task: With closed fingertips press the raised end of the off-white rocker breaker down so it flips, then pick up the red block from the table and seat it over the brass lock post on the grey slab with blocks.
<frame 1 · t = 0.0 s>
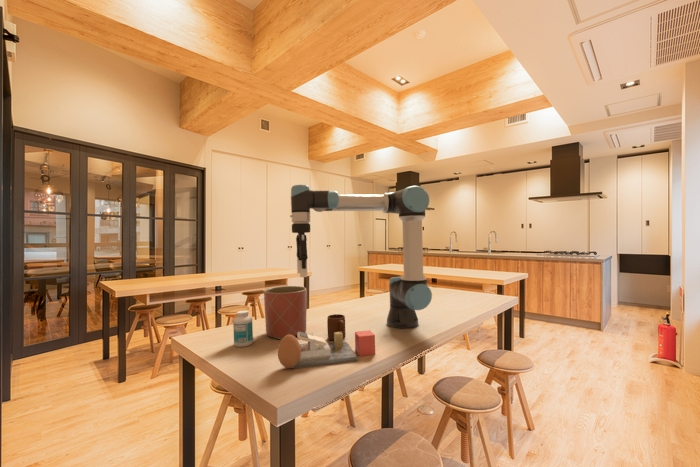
hand: (302, 275, 130), 28 cm above the table, fingers open, 13 cm apart
red block: (365, 352, 119), on the table
egg: (289, 368, 106), on the table, touching grey slab with blocks
grey slab with blocks: (322, 356, 116), on the table
rocker: (311, 338, 113), point 7 cm above the table, hinge at -20.0°
pill bottle: (243, 344, 130), on the table
mug: (338, 340, 133), on the table
planter: (286, 333, 144), on the table
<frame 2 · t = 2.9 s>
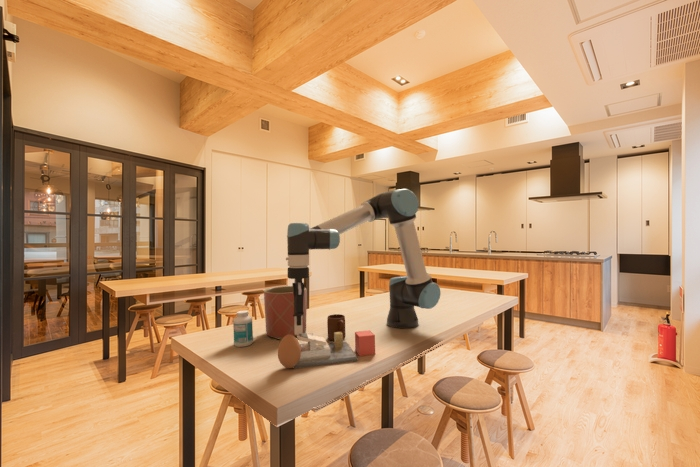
hand: (298, 333, 112), 10 cm above the table, fingers closed
rocker: (311, 338, 113), point 7 cm above the table, hinge at -17.3°, touching gripper
everything else where it was.
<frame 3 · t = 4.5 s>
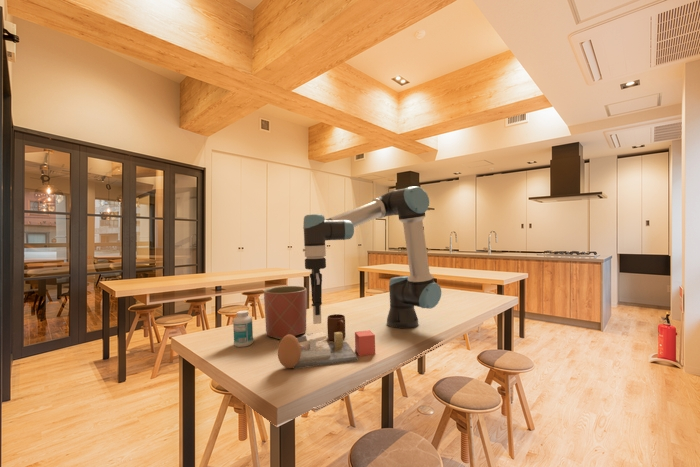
hand: (317, 323, 114), 13 cm above the table, fingers closed
rocker: (311, 338, 113), point 7 cm above the table, hinge at 8.5°
everything else where it was.
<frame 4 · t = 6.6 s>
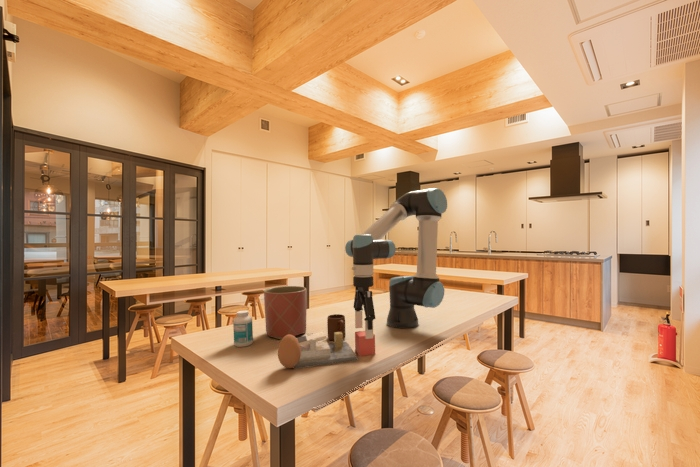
hand: (363, 332, 118), 7 cm above the table, fingers open, 13 cm apart
nothing on the table moved.
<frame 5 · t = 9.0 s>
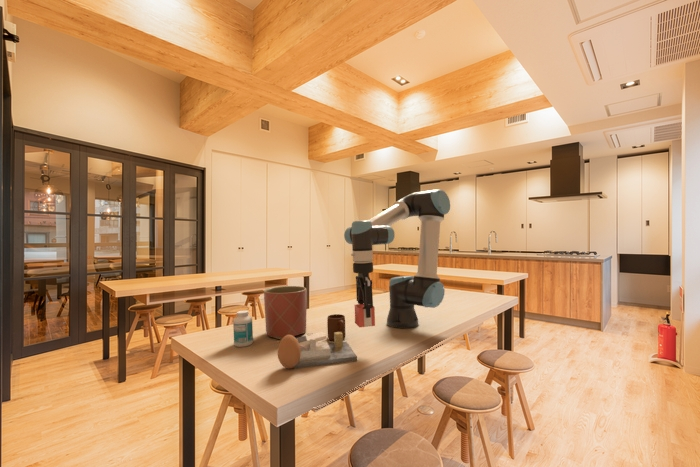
hand: (365, 323, 119), 11 cm above the table, fingers closed on red block, 6 cm apart
red block: (364, 324, 119), point 10 cm above the table, touching gripper
everything else where it was.
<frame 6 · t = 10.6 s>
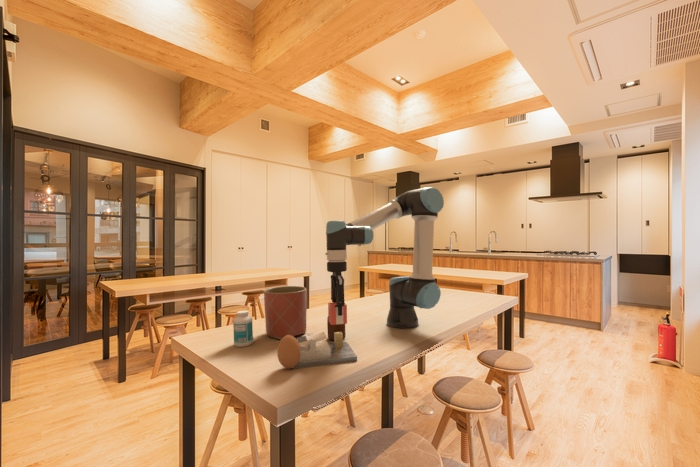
hand: (337, 321, 121), 11 cm above the table, fingers closed on red block, 6 cm apart
red block: (337, 322, 121), point 11 cm above the table, touching gripper
everything else where it was.
when the fingers open (3 cm above the table, at t = 12.6 s): red block drops 1 cm, resting on grey slab with blocks.
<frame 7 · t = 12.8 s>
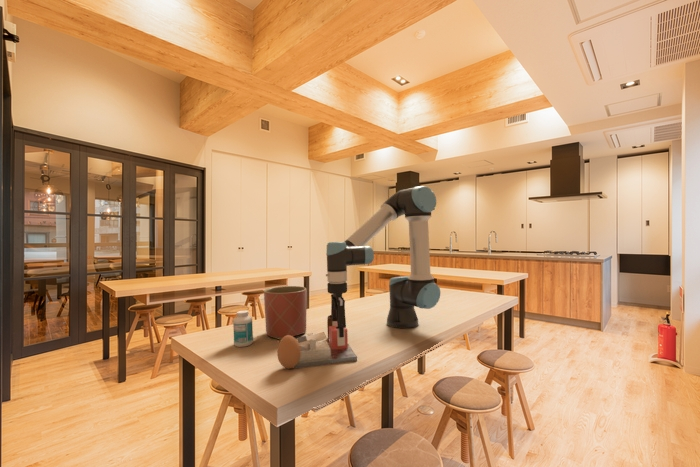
hand: (338, 341, 121), 3 cm above the table, fingers open, 8 cm apart
red block: (338, 346, 121), point 1 cm above the table, touching grey slab with blocks
everything else where it was.
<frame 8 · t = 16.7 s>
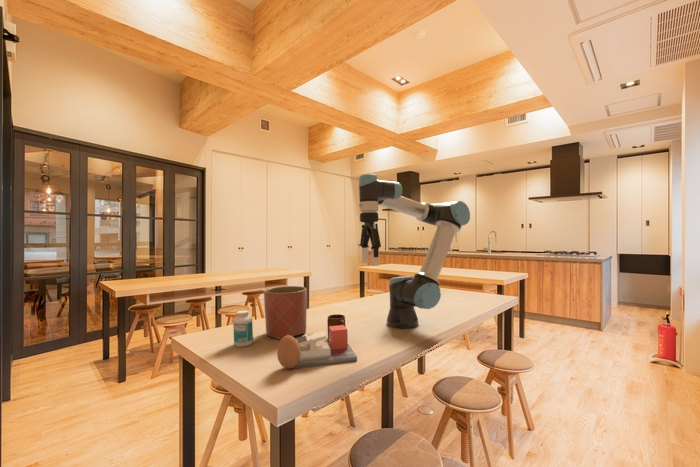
hand: (370, 264, 130), 32 cm above the table, fingers open, 13 cm apart
egg: (290, 368, 106), on the table, touching grey slab with blocks
everything else where it was.
at the end: rocker at +9° (first picture: -20°); red block 0.2 cm from the target spot, point 1.5 cm above the table; the gripper is holding nothing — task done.
